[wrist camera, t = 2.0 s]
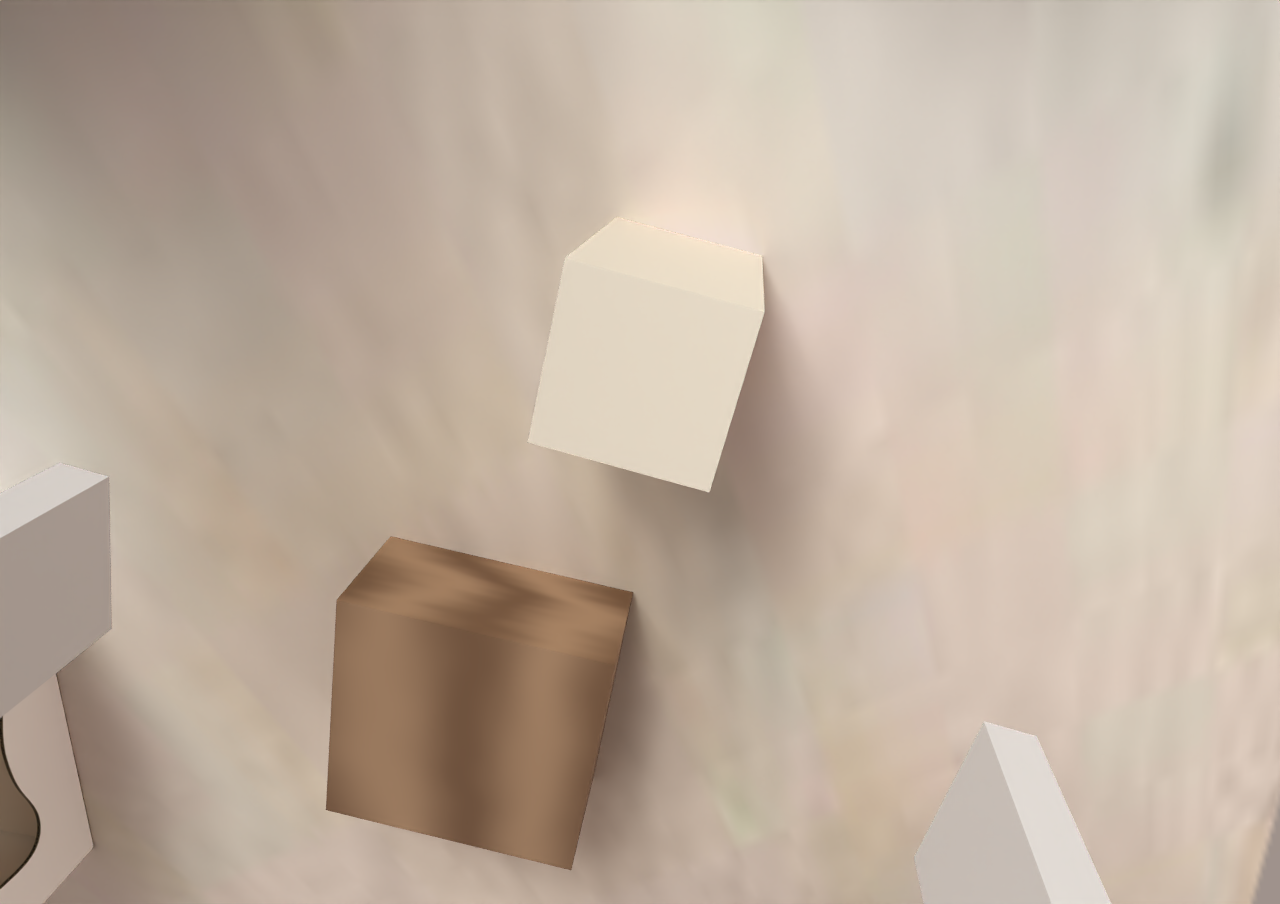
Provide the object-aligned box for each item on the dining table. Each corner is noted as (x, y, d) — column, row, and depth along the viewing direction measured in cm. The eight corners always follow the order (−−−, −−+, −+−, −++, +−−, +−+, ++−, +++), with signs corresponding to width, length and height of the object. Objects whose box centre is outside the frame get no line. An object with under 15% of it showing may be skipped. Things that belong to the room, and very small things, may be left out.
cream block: (585, 356, 36) (527, 442, 27) (616, 216, 34) (564, 257, 24) (721, 393, 36) (709, 492, 27) (762, 255, 34) (764, 311, 24)
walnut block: (377, 725, 46) (326, 810, 40) (392, 533, 41) (336, 600, 35) (593, 776, 45) (571, 870, 40) (633, 589, 40) (614, 665, 35)
